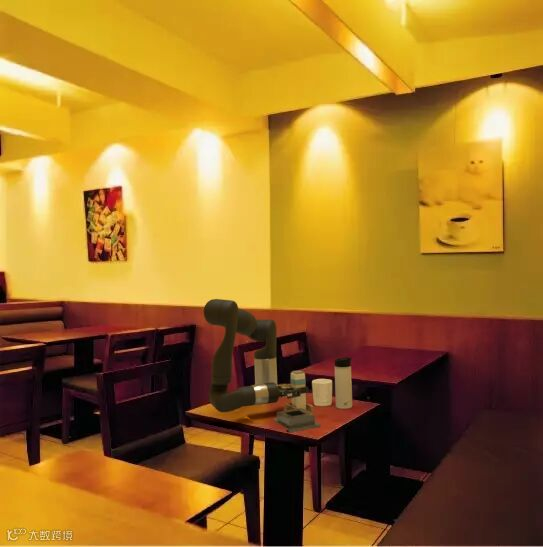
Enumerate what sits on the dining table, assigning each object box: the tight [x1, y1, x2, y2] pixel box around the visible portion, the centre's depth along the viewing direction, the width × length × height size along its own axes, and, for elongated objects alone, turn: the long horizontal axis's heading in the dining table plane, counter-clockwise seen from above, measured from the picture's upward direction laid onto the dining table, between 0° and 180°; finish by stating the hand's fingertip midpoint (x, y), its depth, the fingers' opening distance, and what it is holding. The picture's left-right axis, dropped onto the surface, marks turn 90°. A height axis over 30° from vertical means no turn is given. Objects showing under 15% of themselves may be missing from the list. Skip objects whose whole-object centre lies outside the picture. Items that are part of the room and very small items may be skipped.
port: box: [271, 408, 321, 433], centre depth 195 cm, size 14×12×4 cm
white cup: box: [311, 378, 333, 407], centre depth 218 cm, size 8×8×10 cm
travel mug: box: [334, 356, 353, 410], centre depth 212 cm, size 6×7×20 cm
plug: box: [290, 369, 307, 410], centre depth 210 cm, size 4×4×15 cm
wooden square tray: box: [283, 402, 315, 413], centre depth 210 cm, size 9×9×3 cm
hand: (304, 388), depth 211 cm, fingers open, 5 cm apart
